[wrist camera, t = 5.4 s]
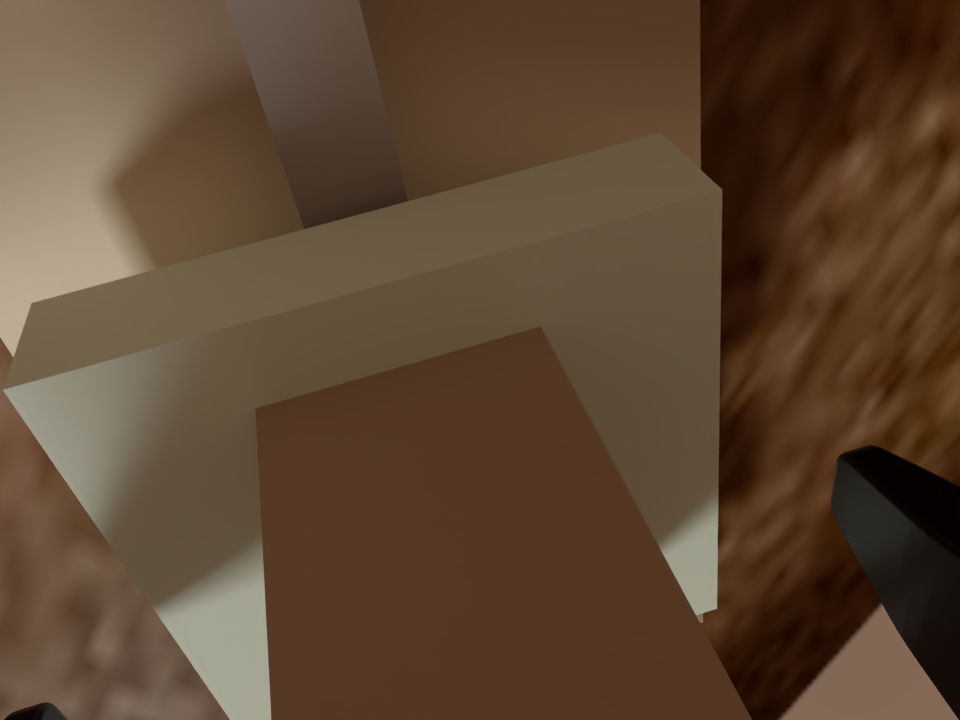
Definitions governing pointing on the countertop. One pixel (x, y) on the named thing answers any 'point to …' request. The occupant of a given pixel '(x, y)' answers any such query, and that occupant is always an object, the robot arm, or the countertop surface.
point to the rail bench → (300, 116)
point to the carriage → (419, 449)
